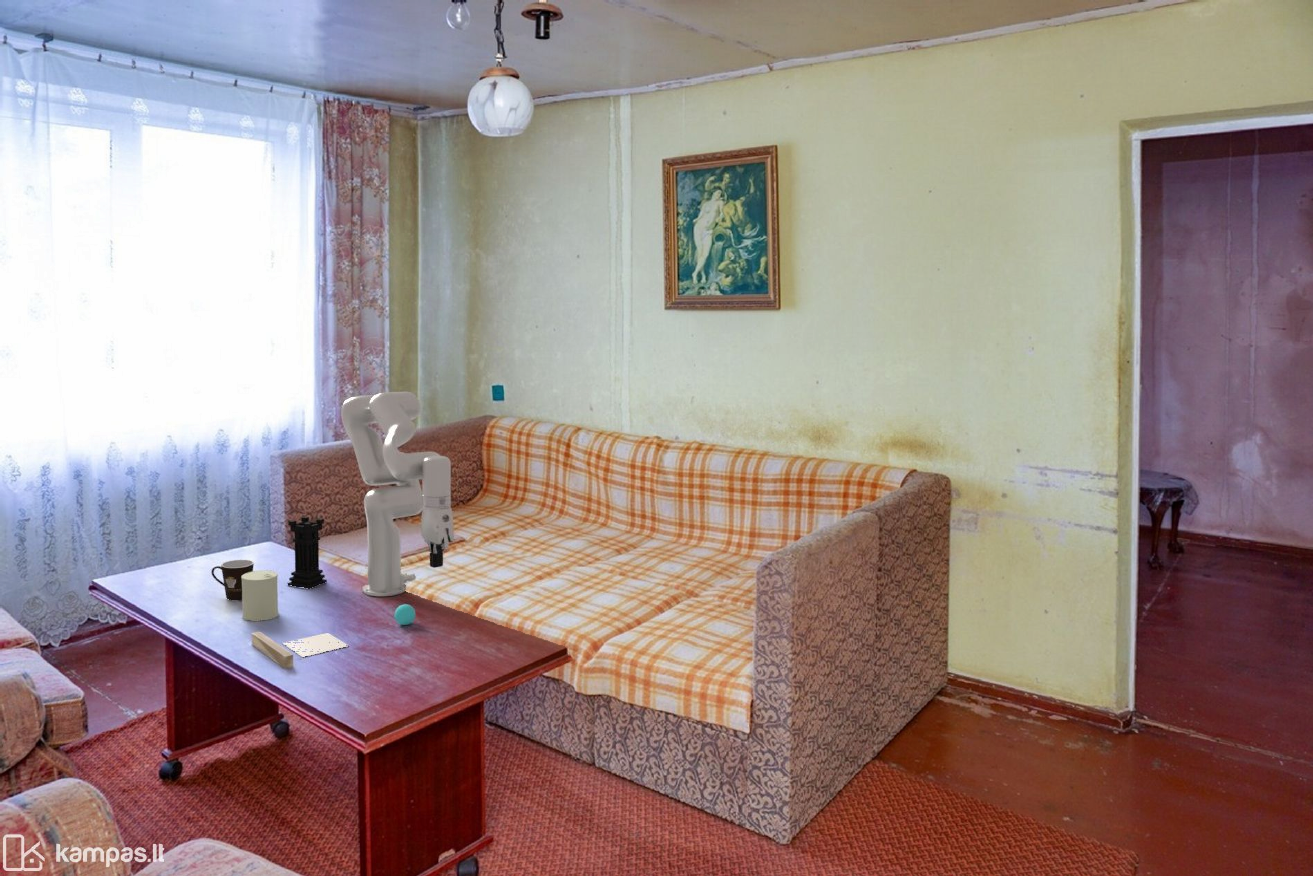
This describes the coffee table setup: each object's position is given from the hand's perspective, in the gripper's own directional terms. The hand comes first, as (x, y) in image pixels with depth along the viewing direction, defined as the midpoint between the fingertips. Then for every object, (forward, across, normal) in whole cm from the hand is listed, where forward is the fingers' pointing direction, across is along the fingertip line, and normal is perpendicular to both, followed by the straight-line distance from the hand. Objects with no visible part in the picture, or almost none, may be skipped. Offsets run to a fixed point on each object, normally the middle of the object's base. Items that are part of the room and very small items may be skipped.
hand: (436, 566), depth 256 cm
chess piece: (+14, +50, +14) cm, 54 cm away
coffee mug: (+14, +51, +36) cm, 64 cm away
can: (+15, +30, +36) cm, 50 cm away
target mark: (+15, 0, +34) cm, 38 cm away
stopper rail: (+15, 0, +46) cm, 48 cm away
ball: (+12, 0, +10) cm, 15 cm away
